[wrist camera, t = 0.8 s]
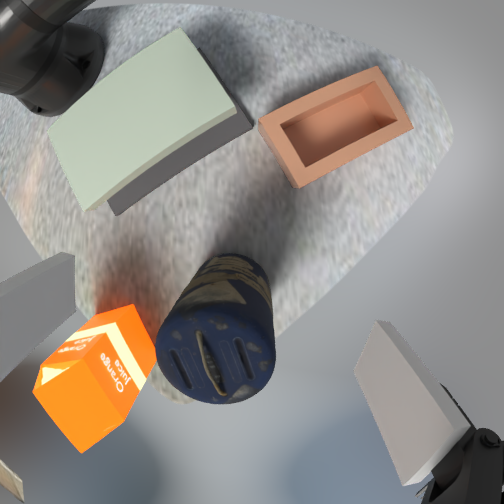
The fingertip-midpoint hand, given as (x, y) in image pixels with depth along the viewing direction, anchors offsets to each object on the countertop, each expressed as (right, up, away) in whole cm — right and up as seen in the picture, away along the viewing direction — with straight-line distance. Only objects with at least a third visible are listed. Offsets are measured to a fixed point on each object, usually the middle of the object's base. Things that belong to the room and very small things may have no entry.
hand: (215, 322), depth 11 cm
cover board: (-11, +16, +15) cm, 24 cm away
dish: (+11, +17, +21) cm, 29 cm away
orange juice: (-17, -10, +28) cm, 34 cm away
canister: (-1, -2, +25) cm, 26 cm away
